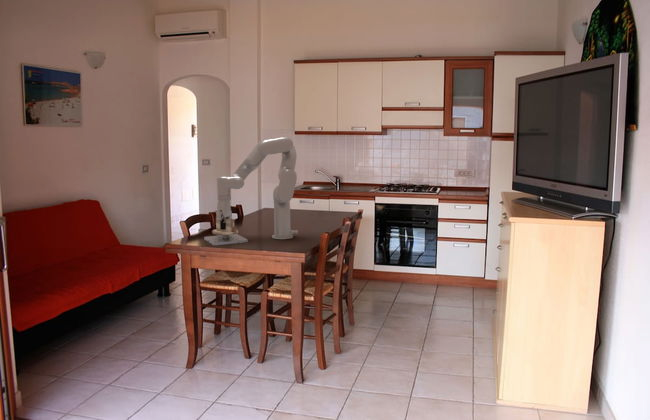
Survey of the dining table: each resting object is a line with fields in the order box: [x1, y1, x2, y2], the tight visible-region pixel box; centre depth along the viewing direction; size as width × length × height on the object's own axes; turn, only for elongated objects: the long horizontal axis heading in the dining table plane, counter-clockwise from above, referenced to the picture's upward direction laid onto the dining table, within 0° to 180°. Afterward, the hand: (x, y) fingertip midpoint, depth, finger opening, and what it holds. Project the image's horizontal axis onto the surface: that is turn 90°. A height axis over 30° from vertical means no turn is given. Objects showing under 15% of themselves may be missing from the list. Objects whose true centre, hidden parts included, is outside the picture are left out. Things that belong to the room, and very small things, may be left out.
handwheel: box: [211, 217, 239, 238], centre depth 326 cm, size 15×15×11 cm
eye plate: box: [203, 233, 249, 246], centre depth 327 cm, size 20×20×2 cm
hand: (224, 228), depth 326 cm, fingers closed on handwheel, 4 cm apart
